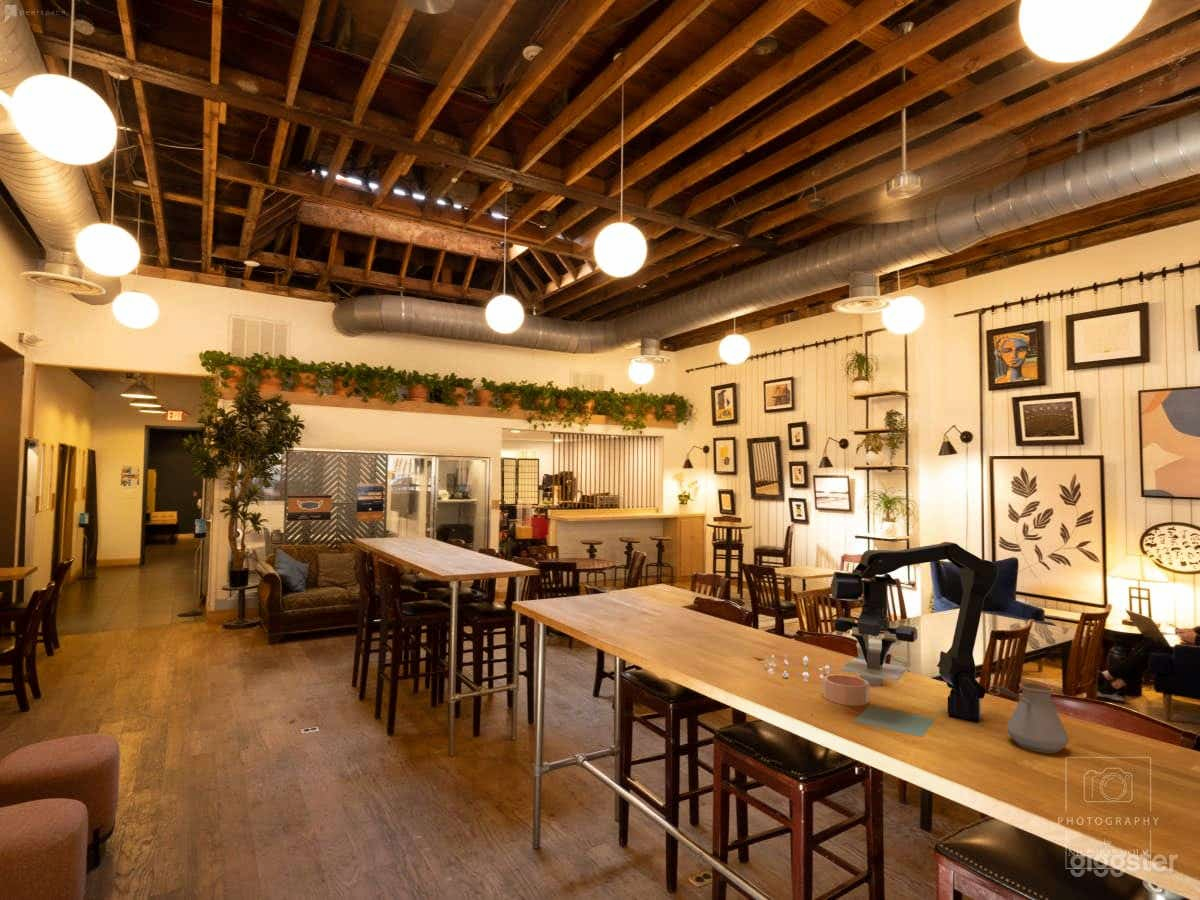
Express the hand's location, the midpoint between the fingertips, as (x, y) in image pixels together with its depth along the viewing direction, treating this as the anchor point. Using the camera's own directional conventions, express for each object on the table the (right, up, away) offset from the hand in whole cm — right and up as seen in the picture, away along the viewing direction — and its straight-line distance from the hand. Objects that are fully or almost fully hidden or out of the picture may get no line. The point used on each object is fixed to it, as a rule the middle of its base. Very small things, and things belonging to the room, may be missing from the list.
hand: (874, 664), depth 162 cm
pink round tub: (-4, -13, +9) cm, 16 cm away
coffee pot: (+23, -12, -21) cm, 34 cm away
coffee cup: (+10, -14, +26) cm, 31 cm away
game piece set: (-9, -15, +35) cm, 39 cm away
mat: (+2, -12, -6) cm, 14 cm away
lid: (0, -2, 0) cm, 2 cm away
